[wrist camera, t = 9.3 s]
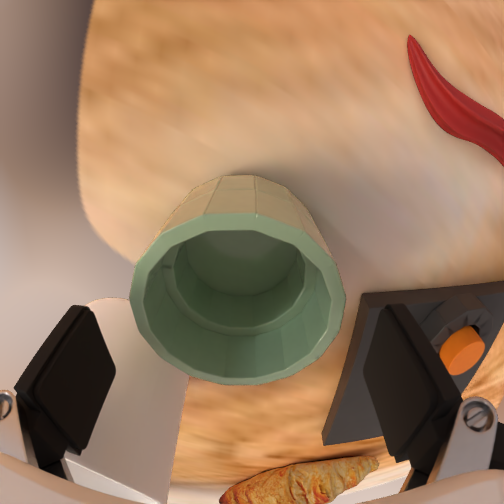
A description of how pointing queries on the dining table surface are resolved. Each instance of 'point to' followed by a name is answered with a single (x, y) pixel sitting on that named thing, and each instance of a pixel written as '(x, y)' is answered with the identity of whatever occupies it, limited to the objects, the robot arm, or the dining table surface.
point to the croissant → (302, 482)
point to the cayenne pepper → (455, 106)
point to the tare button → (461, 350)
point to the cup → (132, 415)
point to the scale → (436, 330)
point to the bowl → (238, 285)
